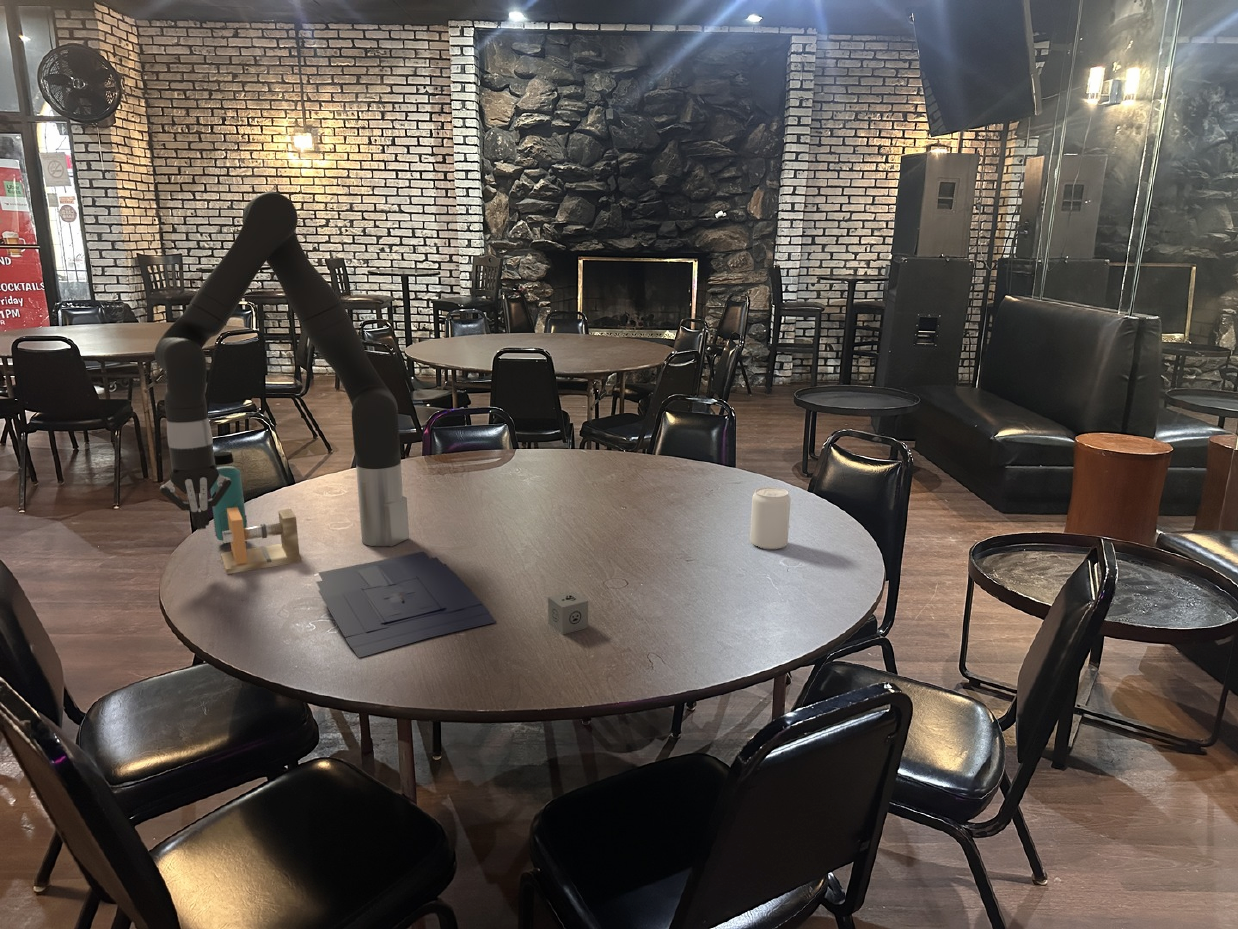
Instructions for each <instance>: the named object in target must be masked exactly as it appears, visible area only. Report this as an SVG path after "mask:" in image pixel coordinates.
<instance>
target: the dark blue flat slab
mask: <svg viewBox="0 0 1238 929" xmlns="http://www.w3.org/2000/svg"><path fill="white" fill-rule="evenodd" d="M317 574H318V575H319V577H320V578H321V580H318V581H315V583H316V584H317V587H318V588H319V590H317V592H318V594H319V595H320V597H321V599H322V600H323V602H324V604H325V606H326V607H327V609H328V610H329V612H330V614H331V616H332V618H333V619H334V621H335V622H336V624H337V626H338V629H340V631H341V633H342V634H343V637H344V638H345V640H346V642H347V643H348V645H349V647H350V648H352V650H353V652H354V653H355V655H356V656H357V657H358V658H363V657H367V656H370V655H375V654H377V653H380V652H384V651H387V650H391V649H395V648H397V647H402V646H405V645H408V644H412V643H415V642H419V641H422V640H423V641H424V640H426V639H429V638H434V637H438V636H442V635H447V634H450V633H455V632H460V631H463V630H469V629H473V628H476V627H481V626H485V625H490V624H493V623H494V624H495V623H497V621H496V619H495V618H494V617H493V616H492V614H491V613H490V611H489V610H488V608H487V607H486V606H485V605H484V603H483V602H482V601H481V599H479V598H478V597H477V595H476V594H475V593H474V592H473V591H472V590H471V589H470V587H468V585H467V584H466V583H465V582H464V581H463V580H462V578H460V577H459V576H458V574H457V573H456V572H455V570H453V569H451V568H450V567H449V566H448V565H447V564H446V563H443V562H442V561H441V560H440V559H439V558H438V557H436V556H435V557H430V556H429V555H428V553H427V552H425V551H424V550H423V551H421V552H413V553H409V554H404V555H400V556H395V557H390V558H386V559H380V560H375V561H371V562H366V563H360V564H355V565H349V566H345V567H340V568H335V569H330V570H324V571H320V572H317Z"/></svg>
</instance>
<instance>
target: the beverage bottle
mask: <svg viewBox="0 0 1238 929" xmlns="http://www.w3.org/2000/svg"><path fill="white" fill-rule="evenodd" d="M214 458H215V466H217V467H216V468H217V469H218V471H219V474H220V475H222V476H224V477H229V478H230V480H231V485H230V487H229V488H228V489H227V491H226V492H225V494H224V495H223V497H222V498H221V499H220V501H219V502H218V504H217V505H216V506H212V507H211V508H212V509H211V510H212V519H213V527H214V534H215V537H216V539H217V540H218V541H222V542H224V541H223V533H222V531H227V530H229V524H228V515H227V508H233V507H238V510H239V512H240V514H241V517H242V519H243V527H244V528H248V520H247V515H246V506H245V501H244V500H245V496H244V489H243V484H242V476H241V471H240V470H239V469H238V468H237V467H235V466H229V465H231V464H232V463H234V462H235V461H234V456H233V453H232V452H231V451H218V452H214ZM225 465H226V466H225ZM217 482H218V479H217V480H216V482H215V483H214V485H213V486H212V488H211V489H210V490H209V491H210V497H211V496H212V495H213V494H214V492H215V491H216V489H217V488H218V485H217Z"/></svg>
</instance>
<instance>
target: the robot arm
mask: <svg viewBox="0 0 1238 929" xmlns="http://www.w3.org/2000/svg"><path fill="white" fill-rule="evenodd" d="M241 217H242V218H241V219H242V226H241V228H240V230H239V232H238V234H237V236H236V238H235V239H234V241H233V243H232V244H231V246H230V248H229V250H228V251H227V252H226V254H224V257H222V259H221V260H220V262H219V263H218V264H216V266H215V268H214V269H213V270H212V271H211V272H210V274H209V275H208V276H207V278H206V279H205V280H204V281H203V283H202V284H201V286H200V287H199V289H198V290H197V292H196V293H195V295H194V296H193V298H192V299H191V300H190V302H189V304H188V305H187V307H186V309H185V310H184V312H183V313H182V314H181V315H180V316H179V318H178V319H176V320H175V321H174V322H173V324H171V325H170V327H169V328H168V329H167V330H166V331H165V332H164V333H163V335H162V336H161V338H160V339H159V340H158V342H157V343H156V346H155V349H154V359H155V362H156V364H157V365H158V367H159V368H160V369H161V370H163V371H164V372H166V377H167V391H166V392H165V394H164V409H165V417H166V435H167V436H166V437H167V445H168V452H169V457H170V458H169V459H170V466H171V473H170V475H169V478H170V479H169V480H168V481H167V482H166V483H164V484H161V485H160V486H159V491H160V493H161V494H162V495H164V497H166V498H167V499H168V500H169V501H170V502H172V504H174V505H175V506H176V507H178V508H179V509H180V510H181V511H189V512H191V519H192V525H193V527H194V528H196V529H197V530H206V529H207V526H209V525H210V518H209V509H210V508H212V506H216V505H217V504H218V502H219V501H220V499H221V498H222V497H223V495H224V494H225V492H226V491H227V489H228V488H229V487H230V485H231V480H230V478H229V477H224V476H222V475H220V474H219V471H218V469H217V467H216V466H217V465H215V458H214V453H215V452H214V450H215V449H214V443H213V438H214V437H213V435H212V434H213V432H212V428H211V424H210V421H209V413H208V405H207V404H208V403H207V400H206V388H207V375H208V374H207V359H206V355H205V351H204V350H203V347H204V346H205V345H206V343H207V342H208V341H209V340H210V338H213V337H215V336H218V334H220V332H222V330H223V329H224V327H226V324H227V323H228V321H229V320H230V318H231V317H232V315H233V314H234V312H235V311H236V309H238V308H237V307H238V306H239V304H240V302H241V301H242V299H243V297H244V296H245V294H246V292H247V291H248V290H249V287H250V286H251V285H252V282H253V281H254V279H255V278H256V277H257V275H258V273H259V271H260V270H261V269H262V267H263V266H264V265H265V263H267V264H268V266H269V267H270V268H271V270H272V272H273V274H274V275H275V277H276V279H277V281H278V282H279V285H280V287H281V289H282V291H283V293H284V296H285V297H286V299H287V301H288V303H289V306H290V307H291V309H292V311H293V313H294V315H295V316H296V318H297V320H298V323H299V324H300V326H301V327H302V329H303V331H304V333H305V335H306V336H307V338H308V339H309V341H310V343H311V344H312V345H313V347H314V348H315V350H316V351H317V352H318V354H319V355H320V356H321V357H322V358H323V360H324V361H325V362H326V363H327V364H328V365H329V366H330V368H331V369H332V371H334V372H335V374H336V376H337V377H338V379H339V381H340V382H341V384H342V386H343V388H344V391H345V393H346V395H347V397H348V399H349V402H350V404H351V407H352V408H351V424H352V425H351V430H352V437H353V438H352V440H353V448H354V449H353V451H354V456H355V469H356V481H357V493H358V494H357V495H358V507H359V508H358V509H359V520H360V521H359V524H360V531H361V532H360V533H361V542H362V544H363V545H367V546H369V547H370V546H371V547H394V546H396V545H397V544H400V543H402V542H404V541H406V540H408V539H410V529H409V528H410V527H409V526H410V525H409V512H408V511H409V510H408V508H409V507H408V499H407V496H404V495H403V494H404V492H403V476H402V474H403V473H402V459H401V458H402V457H401V456H402V454H401V443H400V427H399V408H398V402H397V400H396V398H395V396H394V395H393V393H392V392H391V390H390V389H389V388H388V387H387V385H386V383H385V382H384V381H383V380H382V378H381V376H380V375H379V373H378V372H377V371H376V368H374V365H373V364H372V362H371V361H370V359H369V357H368V354H367V351H366V350H365V347H364V344H363V343H362V340H361V338H360V336H359V333H358V332H357V329H356V327H355V324H354V323H353V321H352V319H351V317H350V315H349V313H348V311H347V309H346V308H345V306H344V304H343V302H342V301H341V299H340V297H339V295H338V294H337V293H336V291H335V290H334V288H333V287H332V286H331V285H330V284H329V282H328V281H327V280H326V279H325V278H324V277H323V276H322V274H321V273H320V272H319V271H318V270H317V268H315V266H314V265H313V264H312V263H311V261H310V259H309V258H308V257H307V255H306V253H305V251H304V249H303V247H302V245H301V243H300V240H299V238H298V236H297V233H296V230H297V227H298V225H299V224H298V223H299V221H298V220H299V216H298V212H297V209H296V207H295V205H294V203H293V202H292V200H290V198H289V197H287V196H286V195H283V194H282V193H279V192H273V191H272V192H271V191H270V192H269V191H267V192H263V193H260V194H257V195H256V196H254V197H253V198H252V199H251V200H250V201H249V202H248V203H247V204H246V206H245V208H244V209H243V212H242V216H241ZM217 479H218V482H217V485H218V488H217V489H216V491H215V492H214V494H213V495H212V496H211V495H210V498H209V499H208V492H209V491H211V490H210V489H211V488H212V486H213V485H214V483H215V482H216V480H217ZM174 486H175V487H176V488H177V489H178V490H180V491H181V492H182V493H183V494H184V495H187V499H188V501H185V500H184V499H183V498H182V497H180V496H179V495H178V494H177V493H176V492H175V491H176V489H175V487H174ZM196 494H198V497H199V498H198V499H199V506H198V503H197V498H196Z"/></svg>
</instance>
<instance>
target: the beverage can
mask: <svg viewBox="0 0 1238 929" xmlns="http://www.w3.org/2000/svg"><path fill="white" fill-rule="evenodd" d="M751 499H752V500H751V513H750V514H751V516H750V519H751V520H750V535H749V536H750V537H749V542H750V543H751V544H752V545H753V546H755V547H757V546H758V548H759V547H760V548H759V549H762V548H763V549H764V550H779V549H781V548H785V547H786V546H787V545H788V542H789V527H790V512H791V511H790V510H791V496H790V495H789V491H788V490H786V489H784V488H780V487H772V486H767V487H765V486H764V487H759V488H755V491H754V493H753V495H752V498H751ZM778 548H779V549H778Z"/></svg>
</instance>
